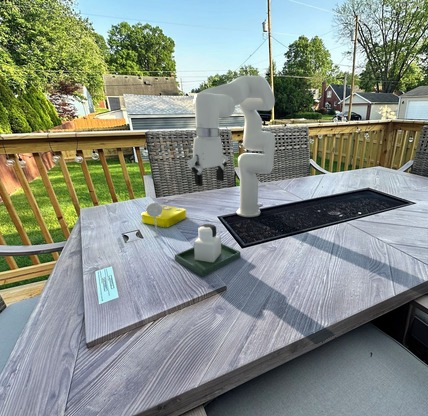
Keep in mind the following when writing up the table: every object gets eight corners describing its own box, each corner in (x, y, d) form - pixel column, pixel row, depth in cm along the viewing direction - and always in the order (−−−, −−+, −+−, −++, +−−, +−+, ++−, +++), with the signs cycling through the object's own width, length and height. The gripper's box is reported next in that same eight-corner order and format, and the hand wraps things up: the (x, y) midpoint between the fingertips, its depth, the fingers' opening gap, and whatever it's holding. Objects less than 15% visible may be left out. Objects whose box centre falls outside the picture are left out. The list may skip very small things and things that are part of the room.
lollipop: (168, 235, 110) (165, 201, 105) (158, 241, 104) (154, 205, 99) (156, 232, 112) (152, 199, 107) (145, 238, 106) (141, 203, 101)
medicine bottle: (203, 250, 98) (202, 221, 94) (221, 253, 97) (221, 223, 93) (194, 260, 91) (192, 228, 87) (213, 263, 90) (212, 231, 86)
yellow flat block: (140, 222, 121) (139, 212, 119) (163, 212, 134) (162, 203, 132) (166, 228, 116) (165, 218, 114) (187, 217, 129) (187, 208, 128)
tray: (213, 243, 105) (213, 238, 104) (240, 256, 96) (240, 251, 95) (175, 260, 92) (174, 254, 91) (202, 277, 83) (202, 271, 82)
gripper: (219, 131, 96) (221, 176, 102) (178, 133, 83) (182, 185, 89) (234, 133, 92) (234, 180, 98) (193, 135, 79) (196, 189, 85)
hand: (210, 182), depth 93 cm, fingers open, 9 cm apart
